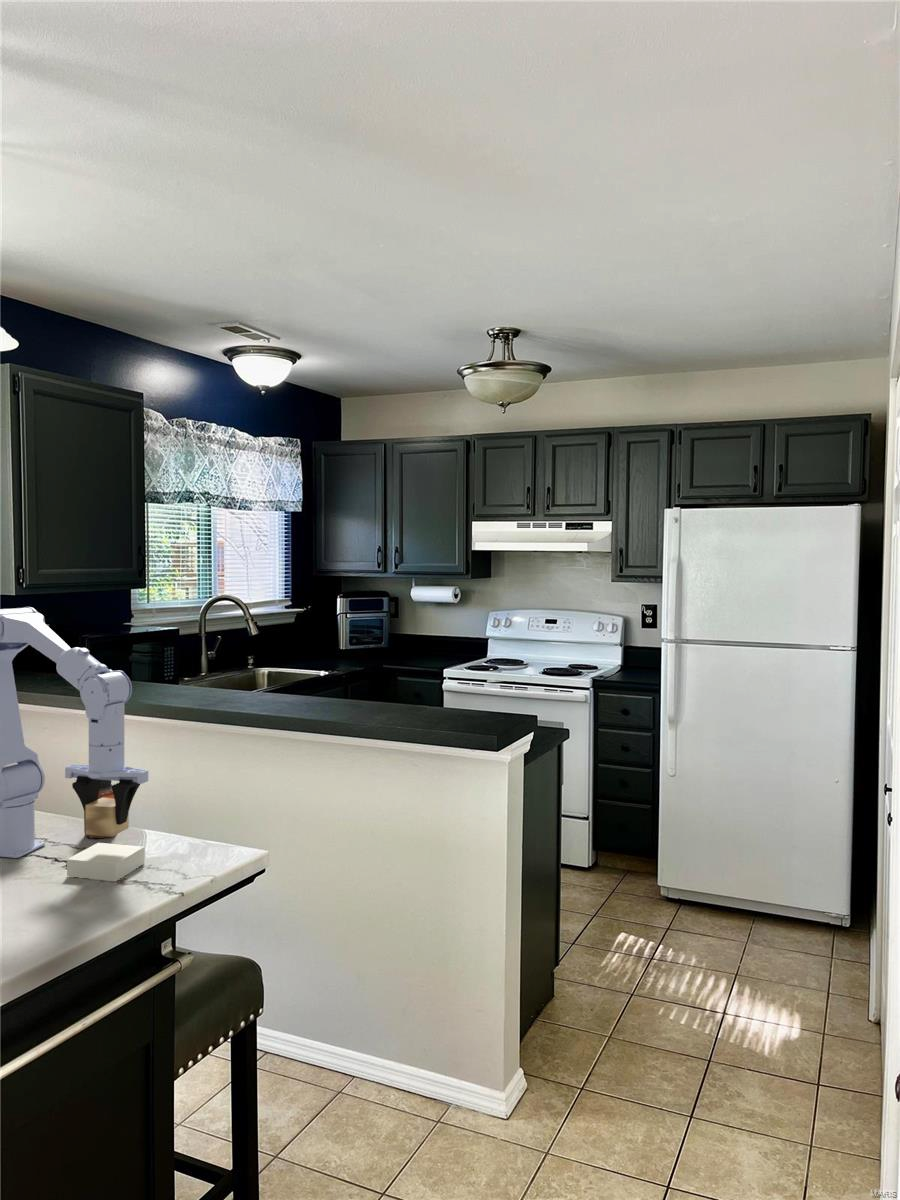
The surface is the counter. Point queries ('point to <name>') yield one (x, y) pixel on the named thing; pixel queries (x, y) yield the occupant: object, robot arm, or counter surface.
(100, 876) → the base block
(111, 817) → the oak block
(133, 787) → the robot arm
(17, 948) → the counter surface
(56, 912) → the counter surface
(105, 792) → the supplement bottle
